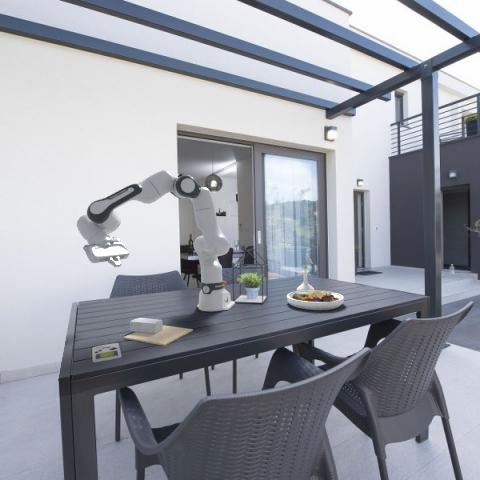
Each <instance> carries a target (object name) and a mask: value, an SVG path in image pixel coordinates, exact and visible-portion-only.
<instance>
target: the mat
mask: <svg viewBox="0 0 480 480" xmlns="http://www.w3.org/2000/svg"><path fill="white" fill-rule="evenodd" d="M193 331H194V329H193V328H185V327H178V326H172V325H171V326H170V325H165V324H164V325H163V329H162V330H161V331H159V332H157V333H155V334H153V333H144V332H135V331H133V332H131V333H130V334H127V335H125V336H123V339H125V340H130V341H135V342H142V343H147V344H153V345H158V346H164V347H165V346H167V345H169V344H171V343H173V342H175V341H176V340H179V339H180V338H182V337H184V336H185V335H188V334H190V333H192V332H193Z"/></svg>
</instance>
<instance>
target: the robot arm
mask: <svg viewBox="0 0 480 480" xmlns="http://www.w3.org/2000/svg"><path fill="white" fill-rule="evenodd" d="M168 193H170V194H172V195H173V196H174V197H176V198H177V199H181V200H182V199H188V200H190V202H191V204H192V209H193V214H194V220H195V225H196V226H197V228H198V229H199V230H200V232H201V234H202V235H199V236H197V237H196V238H195V240H194V241H193V250H195V252H196V253H197V256H198V257H197V258H198V261H199V266H200V274H201V275H200V276H201V277H200V279H201V281H200V284H199V287H200V291H199V293H198V304H197V305H196V307H197V308H198V310H200V311H201V312H219V311H229V310H230V309H231V308H232V307H234V305H236V302H235V301H233V300H232V299H231V297H232V296H231V293H230V292H229V291H228V290H226V288H225V285H227V281H226V280H223V267H222V264H220V260H219V258H218V257H220V256H224V255H226V254H228V252H229V251H230V248H231V243H230V240H229V238H227V237H226V236H225V234H224V233H223V231H222V229H221V226H220V224H219V222H218V217H217V213H216V207H215V202H214V198H213V195H212V193H211V190H210V189H209V188H207V187H203V186H201V185H200V184H199V183H198V182H197V180H196V179H195V177H193V176H191V175H188V174H183V175H181V176H178V177H175V176H173V174H172V173H171V172H169V170H165V169H163V170H162V169H161V170H160V171H157V172H155V173H153V174H152V175H149V176H148V177H147V178H145V179H143V180H142V181H139V182H138V183H133V184H130V185H127V186H125V187H123V188H121V189H120V190H118V191H116V192H113V193H112V194H110V195H108V196H106V197H103V198H100V199H97V200H94V201H93V202H91V203H90V204H89V205H88V207H87V209H86V214H83V215H82V216H80V217H79V218H78V219H77V221H76V227H77V230H78V231H79V233H80V235H81V236H82V238H83V239H84V240H86V241H87V244H85V245H84V246H82V247H83V248H82V249H83V251H84V252H85V255H86V256H87V258H88V261H89V262H91V263H93V264H97V263H98V264H99V263H105V262H107V263H108V264H110V265H112V266H113V267H114V268H118V267H122V262H121V261H120V260H125V259H128V257H129V256H130V253H131V252H130V250H129V249H128V248H127V247H126V245H125V244H124V243H123V242H121V239H120V238H119V237H115V236H111V235H110V234H111V233H113V232H115V231H116V230H117V229H119V227H120V225H121V218H120V216H119V215H118V214H117V213H116V211H115V210H116V209H118V208H119V207H121V206H123V205H125V204H126V203H128V202H130V201H137V202H140V203H143V204H148V205H149V204H152V203H155V202H156V201H158V200H159V199H161V198H162V197H163V196H165V195H166V194H168Z"/></svg>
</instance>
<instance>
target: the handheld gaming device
mask: <svg viewBox="0 0 480 480" xmlns="http://www.w3.org/2000/svg"><path fill="white" fill-rule="evenodd" d="M121 351H122V350H121V348H120V345H119V343H118V342H114V343H108V344H102V345H97V346H94V347H92V353H91V354H92V358H91V359H92V363H95V364H96V363H100V362H105V361H110V360H116V359H121V358H122V357H123V356H122V352H121Z"/></svg>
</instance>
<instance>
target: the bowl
mask: <svg viewBox="0 0 480 480" xmlns="http://www.w3.org/2000/svg"><path fill="white" fill-rule="evenodd" d="M286 300H287V302H288V303H289V305H291V306H292V307H294V308H297V309H301V310H308V311H329V310H334V309H338V308H340V307H341V306H342V305H343V303H344V301H345V300H344V295H342V294H340V293H337V292H333V291H327V290H314V291H313V290H311V291H297V290H296V291H291V292H289V293H287V295H286Z"/></svg>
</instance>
